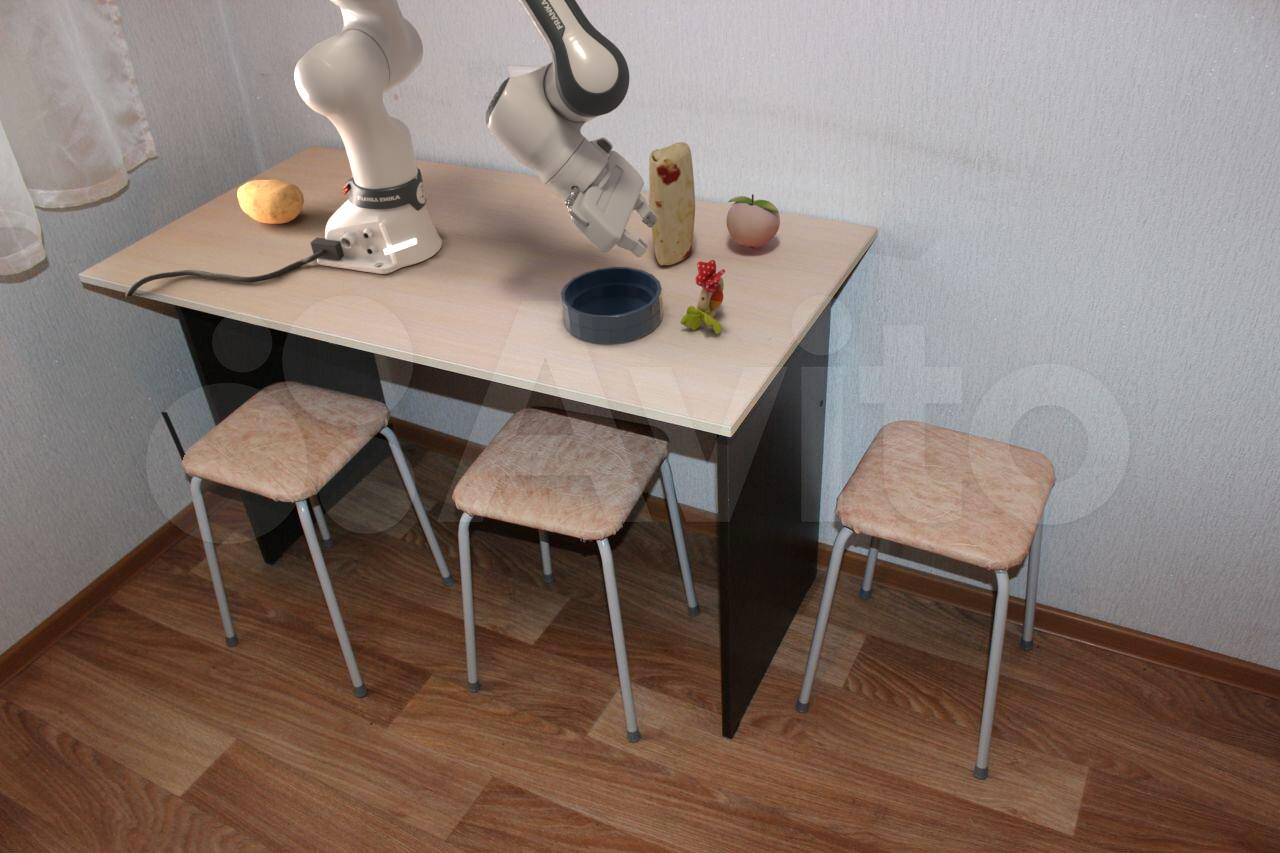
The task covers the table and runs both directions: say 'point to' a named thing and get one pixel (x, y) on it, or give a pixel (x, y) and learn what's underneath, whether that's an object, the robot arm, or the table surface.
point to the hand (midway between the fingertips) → (649, 237)
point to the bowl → (612, 304)
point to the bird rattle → (706, 297)
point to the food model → (672, 202)
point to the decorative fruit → (752, 221)
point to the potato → (270, 201)
